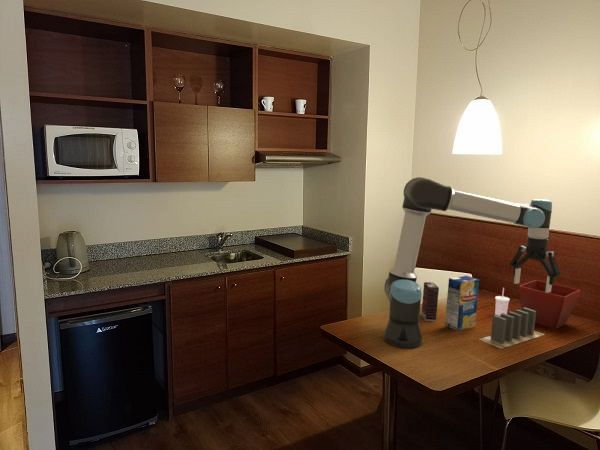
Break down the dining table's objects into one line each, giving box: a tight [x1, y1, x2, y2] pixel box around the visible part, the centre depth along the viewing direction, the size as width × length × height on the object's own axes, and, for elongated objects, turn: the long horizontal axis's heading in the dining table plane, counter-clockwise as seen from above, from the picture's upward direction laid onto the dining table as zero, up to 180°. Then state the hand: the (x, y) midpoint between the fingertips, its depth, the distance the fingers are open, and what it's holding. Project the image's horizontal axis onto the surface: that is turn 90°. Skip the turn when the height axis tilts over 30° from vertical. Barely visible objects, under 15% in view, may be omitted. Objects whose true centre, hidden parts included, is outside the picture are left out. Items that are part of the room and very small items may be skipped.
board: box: [478, 330, 545, 350], centre depth 180 cm, size 30×10×1 cm, turn 121°
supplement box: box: [420, 281, 440, 322], centre depth 200 cm, size 9×5×16 cm, turn 179°
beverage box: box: [444, 275, 480, 331], centre depth 189 cm, size 7×11×22 cm, turn 118°
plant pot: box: [519, 279, 581, 330], centre depth 199 cm, size 19×19×17 cm
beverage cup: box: [494, 287, 510, 316], centre depth 206 cm, size 6×6×14 cm
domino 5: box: [521, 307, 536, 335], centre depth 185 cm, size 2×5×10 cm, turn 31°
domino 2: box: [500, 313, 515, 342], centre depth 177 cm, size 2×5×10 cm, turn 31°
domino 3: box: [507, 310, 522, 339], centre depth 180 cm, size 2×5×10 cm, turn 31°
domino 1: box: [490, 314, 507, 344], centre depth 174 cm, size 2×5×10 cm, turn 31°
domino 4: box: [514, 309, 529, 337], centre depth 182 cm, size 2×5×10 cm, turn 31°
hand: (531, 287), depth 183 cm, fingers open, 13 cm apart
